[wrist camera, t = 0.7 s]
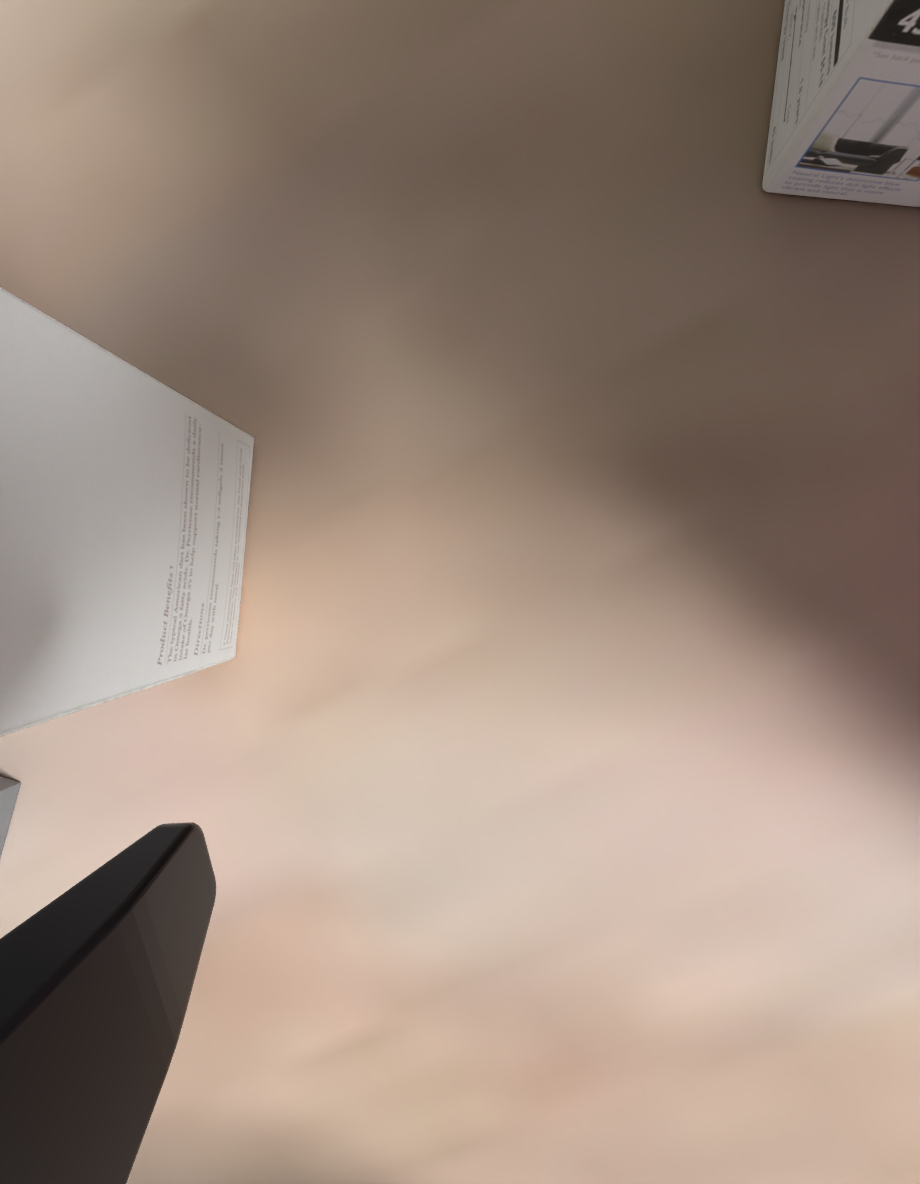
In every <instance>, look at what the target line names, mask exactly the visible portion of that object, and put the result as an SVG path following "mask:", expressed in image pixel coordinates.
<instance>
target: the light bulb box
mask: <svg viewBox="0 0 920 1184" xmlns="http://www.w3.org/2000/svg"><path fill="white" fill-rule="evenodd" d="M762 187H763V190H764V191H766V192H771V193H781V194H790V195H800V196H811V197H821V198H832V199H843V200H853V201H863V202H873V203H883V204H893V205H903V206H914V207H920V0H785V6H784V14H783V22H782V30H781V37H780V45H779V53H778V62H777V70H776V78H775V86H774V94H773V103H772V111H771V119H770V127H769V135H768V143H767V151H766V159H765V167H764V175H763V183H762Z"/></svg>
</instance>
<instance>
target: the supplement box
mask: <svg viewBox="0 0 920 1184" xmlns="http://www.w3.org/2000/svg"><path fill="white" fill-rule="evenodd" d="M253 448H254V437H252V436H251V435H249V434H247V433H246V432H244V431H242V430H241V429H239V428H238V427H236V426H234V425H232V424H231V423H229V422H227V421H225V420H224V419H222V418H220V417H219V416H217V415H215V414H213V413H212V412H210V411H209V410H207V409H205V408H204V407H202V406H200V405H198V404H197V403H195V402H193V401H192V400H190V399H188V398H187V397H185V396H183V395H181V394H180V393H178V392H176V391H175V390H173V389H171V388H170V387H168V386H166V385H165V384H163V383H161V382H160V381H158V380H156V379H155V378H153V377H151V376H149V375H148V374H146V373H144V372H143V371H141V370H139V369H138V368H136V367H134V366H133V365H131V364H129V363H128V362H126V361H124V360H123V359H121V358H119V357H117V356H116V355H114V354H112V353H111V352H109V351H107V350H106V349H104V348H102V347H101V346H99V345H97V344H96V343H94V342H92V341H91V340H89V339H87V338H86V337H84V336H82V335H81V334H79V333H77V332H76V331H74V330H72V329H71V328H69V327H67V326H66V325H64V324H62V323H61V322H59V321H57V320H55V319H54V318H52V317H50V316H48V315H47V314H45V313H43V312H41V311H40V310H38V309H36V308H35V307H33V306H32V305H30V304H28V303H27V302H25V301H23V300H22V299H20V298H18V297H17V296H15V295H13V294H11V293H10V292H8V291H6V290H5V289H3V288H1V287H0V737H1V736H4V735H7V734H10V733H12V732H15V731H18V730H21V729H24V728H27V727H30V726H33V725H37V724H40V723H43V722H46V721H49V720H53V719H56V718H59V717H62V716H65V715H68V714H71V713H74V712H77V711H80V710H83V709H86V708H89V707H92V706H95V705H98V704H101V703H104V702H108V701H111V700H114V699H117V698H120V697H123V696H126V695H129V694H132V693H135V692H138V691H141V690H144V689H147V688H150V687H154V686H157V685H160V684H163V683H166V682H169V681H172V680H175V679H178V678H180V677H184V676H187V675H190V674H193V673H195V672H197V671H200V670H202V669H205V668H208V667H211V666H214V665H217V664H220V663H223V662H226V661H229V660H231V659H233V658H235V653H236V641H237V632H238V622H239V612H240V601H241V589H242V578H243V566H244V554H245V542H246V531H247V519H248V507H249V495H250V483H251V471H252V459H253Z"/></svg>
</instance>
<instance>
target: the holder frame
mask: <svg viewBox="0 0 920 1184" xmlns="http://www.w3.org/2000/svg"><path fill="white" fill-rule="evenodd" d="M20 784H21V782H17V781H14V780H11V779H8V778H4V777H1V776H0V857H1V854H2V850H3V846H4V843H5V839H6V835H7V832H8V828H9V824H10V821H11V817H12V813H13V810H14V806H15V802H16V799H17V795H18V791H19V788H20Z"/></svg>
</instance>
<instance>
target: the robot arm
mask: <svg viewBox="0 0 920 1184" xmlns="http://www.w3.org/2000/svg"><path fill="white" fill-rule="evenodd" d="M215 896H216V881H215V876H214V872H213V868H212V864H211V861H210V857H209V853H208V849H207V845H206V842H205V838H204V834H203V832H202V829H201V828H200V827H199V825H197V824H195V823H171V824H162V825H159V826H157V827H156V828H154V829H153V830H151V831H150V832H148V833H147V834H146V835H144V836H143V837H142V838H140V839H139V840H137V841H136V842H135V843H133V844H132V845H130V846H129V847H128V848H126V849H125V850H123V851H122V852H121V853H119V854H118V855H116V856H115V857H114V858H112V859H111V860H110V861H108V862H107V863H105V864H104V865H103V866H101V867H100V868H98V869H97V870H96V871H94V872H93V873H91V874H90V875H89V876H87V877H86V878H84V879H83V880H82V881H80V882H79V883H78V884H76V885H75V886H73V887H72V888H71V889H69V890H68V891H66V892H65V893H64V894H62V895H61V896H59V897H58V898H57V899H55V900H54V901H52V902H51V903H50V904H48V905H47V906H45V907H44V908H43V909H41V910H40V911H39V912H37V913H36V914H34V915H33V916H32V917H30V918H29V919H27V920H26V921H25V922H23V923H22V924H20V925H19V926H18V927H16V928H15V929H13V930H12V931H11V932H9V933H8V934H7V935H5V936H4V937H2V938H1V939H0V1184H126V1182H127V1180H128V1177H129V1174H130V1172H131V1169H132V1166H133V1164H134V1161H135V1158H136V1155H137V1153H138V1150H139V1147H140V1145H141V1142H142V1139H143V1136H144V1134H145V1131H146V1128H147V1126H148V1123H149V1120H150V1117H151V1115H152V1112H153V1109H154V1107H155V1104H156V1101H157V1099H158V1096H159V1093H160V1090H161V1088H162V1085H163V1082H164V1080H165V1077H166V1074H167V1071H168V1069H169V1066H170V1063H171V1060H172V1057H173V1054H174V1051H175V1048H176V1045H177V1042H178V1038H179V1035H180V1032H181V1028H182V1025H183V1021H184V1017H185V1014H186V1010H187V1006H188V1002H189V998H190V994H191V991H192V987H193V983H194V979H195V975H196V972H197V968H198V964H199V960H200V956H201V952H202V949H203V945H204V941H205V937H206V933H207V929H208V926H209V922H210V918H211V914H212V910H213V907H214V902H215Z"/></svg>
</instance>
